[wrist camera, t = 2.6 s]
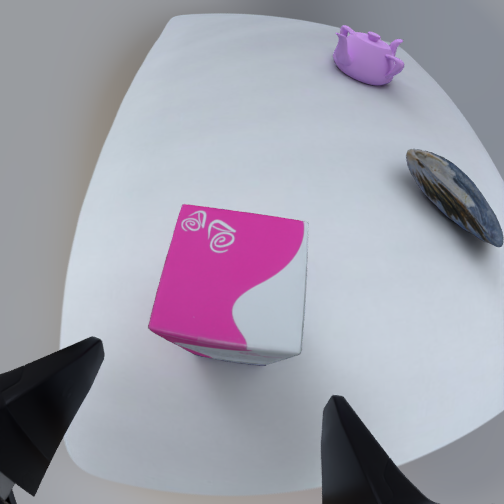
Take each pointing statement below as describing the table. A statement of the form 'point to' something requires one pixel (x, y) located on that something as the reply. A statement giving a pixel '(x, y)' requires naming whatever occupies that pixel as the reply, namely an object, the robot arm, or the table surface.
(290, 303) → the supplement box
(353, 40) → the teapot
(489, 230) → the seashell
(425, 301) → the table surface
